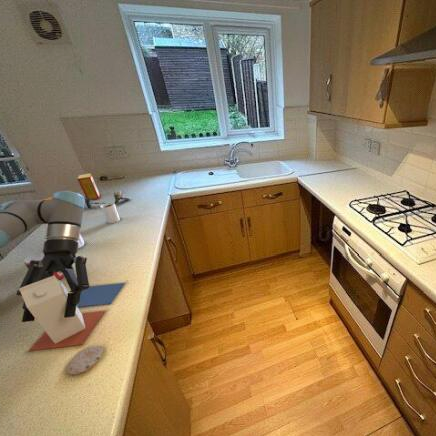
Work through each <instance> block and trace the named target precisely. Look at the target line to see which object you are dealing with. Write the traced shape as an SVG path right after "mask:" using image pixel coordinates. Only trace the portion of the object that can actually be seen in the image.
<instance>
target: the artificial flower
mask: <svg viewBox="0 0 436 436" xmlns="http://www.w3.org/2000/svg"><path fill="white" fill-rule="evenodd" d="M113 197H114V200H115V201H114V203H115V205H117V204H118V203H120V200H121V201H124V200H125V201H129V200H130V198H128V197H126V196H125V197H123V192H122V191H120V190H118V191H115V192H113ZM92 204H93V205H99V204H100V202H93V200H91V198H87V199H86V198H85V205H86V208H87V209H92V206H93V205H92ZM103 204H105V202H101V205H103Z"/></svg>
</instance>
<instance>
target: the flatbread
mask: <svg viewBox="0 0 436 436" xmlns="http://www.w3.org/2000/svg"><path fill="white" fill-rule="evenodd" d="M103 352H104V346H103V345H89V346H87V347H85V348H84V349H81V350H80V351H78V352H77V353H76V354H75V355H74V356H73V357H72V358H70V360H69V361H68V362H67V364H66V366H65V372H66V373H67V374H69V375H72V376H76V375H79V374H83V373H85V372H87V371H89V370H90V369H91V368H92V367H93V366H95V365H96V364H97V362H99V360H100V359H101V357H102V355H103Z"/></svg>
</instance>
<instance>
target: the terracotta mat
mask: <svg viewBox="0 0 436 436" xmlns="http://www.w3.org/2000/svg"><path fill="white" fill-rule="evenodd" d="M105 313H106V310H97V311H88V312H81V314H82V316H83V320H84V324H85V329H83V330H82V331H80V332H78V333H76V334H74V335H72V336H70V337H68V338H66V339H64V340H62V341H60V342H58V343H54V342H53V340H52V339H51V338H50V337H49V335H48V334H47V333H46V331H45V330H44V332H43V333H42V334H41V336H40V337H39V338H38V339H37V340H36V341H35V342H34V344H33V345H32V346H31V347H30V348H29V349H28V352H37V351H45V350H53V349H62V348H69V347H78V346H83V345H84V343H85V342H86V341H87V339H88V338H89V336H90V335H91V333H92V332H93V330H94V329H95V328H96V326H97V325H98V324H99V322H100V321H101V320H102V318H103V316H104V315H105Z"/></svg>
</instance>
